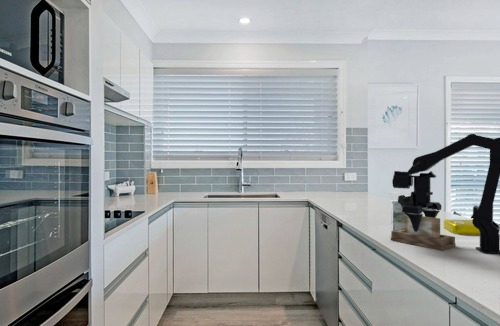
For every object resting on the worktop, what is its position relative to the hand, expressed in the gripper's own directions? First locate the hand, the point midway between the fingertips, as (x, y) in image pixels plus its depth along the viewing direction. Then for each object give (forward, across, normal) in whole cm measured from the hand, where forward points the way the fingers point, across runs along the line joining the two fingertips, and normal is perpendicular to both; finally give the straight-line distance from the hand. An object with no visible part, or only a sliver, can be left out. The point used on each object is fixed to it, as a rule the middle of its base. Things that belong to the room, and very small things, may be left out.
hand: (422, 230), depth 136 cm
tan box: (+4, 0, 0) cm, 4 cm away
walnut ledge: (+5, 0, 0) cm, 5 cm away
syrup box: (+5, -9, -15) cm, 18 cm away
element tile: (+6, -37, 0) cm, 38 cm away
